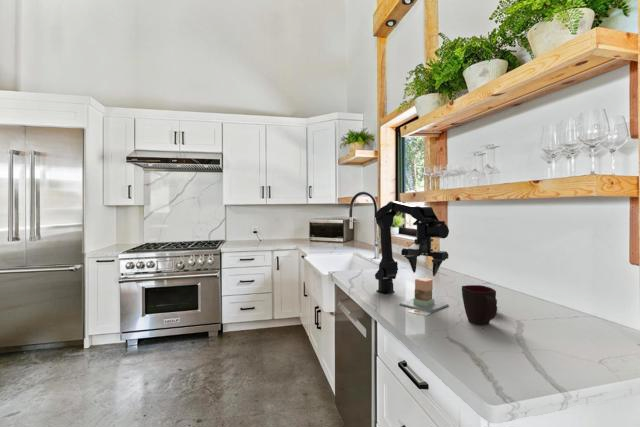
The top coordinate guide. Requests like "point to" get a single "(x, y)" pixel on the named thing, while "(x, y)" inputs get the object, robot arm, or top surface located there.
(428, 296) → the brown block
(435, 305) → the plate
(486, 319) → the cup
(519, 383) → the top surface
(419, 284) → the brick terracotta
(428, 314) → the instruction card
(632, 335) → the top surface
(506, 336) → the top surface
